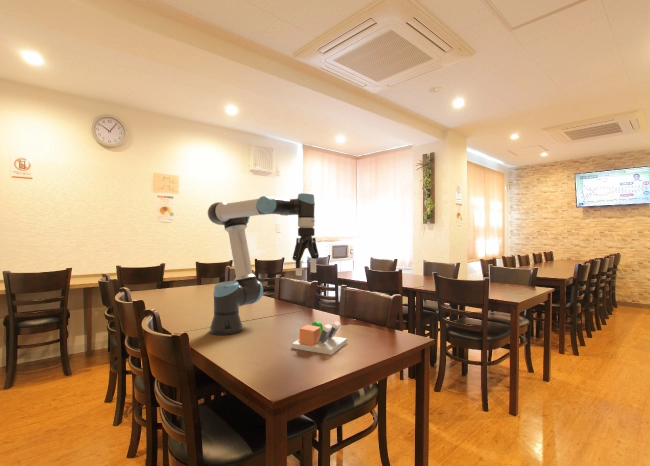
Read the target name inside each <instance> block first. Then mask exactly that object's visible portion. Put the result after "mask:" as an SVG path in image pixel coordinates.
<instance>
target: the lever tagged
mask: <svg viewBox="0 0 650 466" xmlns="http://www.w3.org/2000/svg"><path fill="white" fill-rule="evenodd" d="M331 329H332V325H331V324H329V323H327V324H325V325H324V326H323V331H322V333H321V336H320V338H319V341H318V344H319V345H321V344H323V343H325V342H326V341H327V338H328V336H329V333H330V331H331Z"/></svg>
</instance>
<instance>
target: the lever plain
mask: <svg viewBox="0 0 650 466" xmlns="http://www.w3.org/2000/svg"><path fill="white" fill-rule="evenodd" d="M331 326H332V329H331V331H330V333H329V336H328V338H327V340H329V339H331V338H333V337H335V335H336V333H337V332H338V330H339V328H340V326H341V323H340V322H339V321H338V320H336V321H334V322H333V323H332V325H331Z"/></svg>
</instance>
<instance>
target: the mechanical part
mask: <svg viewBox="0 0 650 466" xmlns="http://www.w3.org/2000/svg"><path fill="white" fill-rule="evenodd" d="M311 325H312V326H317V327H321V333H322V331H323V328H324V326H323V324H322V322H321V321H318V320H317V321H313V322H312V323H311ZM320 336H321V335H320Z"/></svg>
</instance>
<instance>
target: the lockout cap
mask: <svg viewBox="0 0 650 466" xmlns="http://www.w3.org/2000/svg"><path fill="white" fill-rule="evenodd" d="M320 335H321V327H317V326H312V324H305V325H304V326H302V327H300V328H299V339H298V340H299V343H301V344H306V345H311V346H314V345H315V344H317V343H318V341H319V338H320Z"/></svg>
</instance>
